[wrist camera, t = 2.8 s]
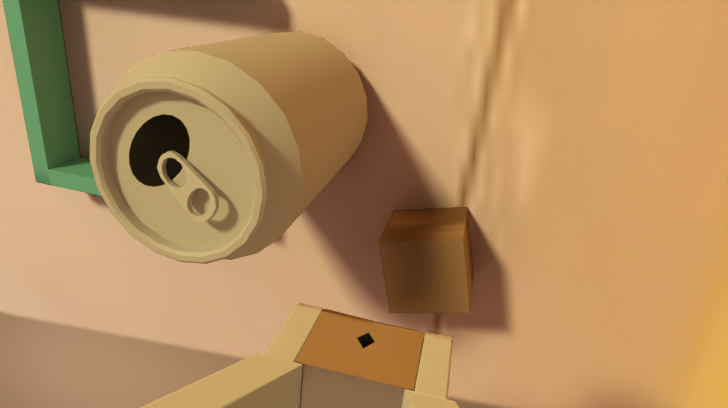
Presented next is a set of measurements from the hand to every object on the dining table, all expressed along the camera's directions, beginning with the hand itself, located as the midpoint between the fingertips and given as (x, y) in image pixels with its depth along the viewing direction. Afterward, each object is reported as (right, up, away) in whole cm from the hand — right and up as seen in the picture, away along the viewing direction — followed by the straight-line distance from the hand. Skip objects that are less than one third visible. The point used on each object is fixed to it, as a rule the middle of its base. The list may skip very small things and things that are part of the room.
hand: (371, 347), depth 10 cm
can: (-3, +8, +17) cm, 19 cm away
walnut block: (+4, +1, +18) cm, 18 cm away
